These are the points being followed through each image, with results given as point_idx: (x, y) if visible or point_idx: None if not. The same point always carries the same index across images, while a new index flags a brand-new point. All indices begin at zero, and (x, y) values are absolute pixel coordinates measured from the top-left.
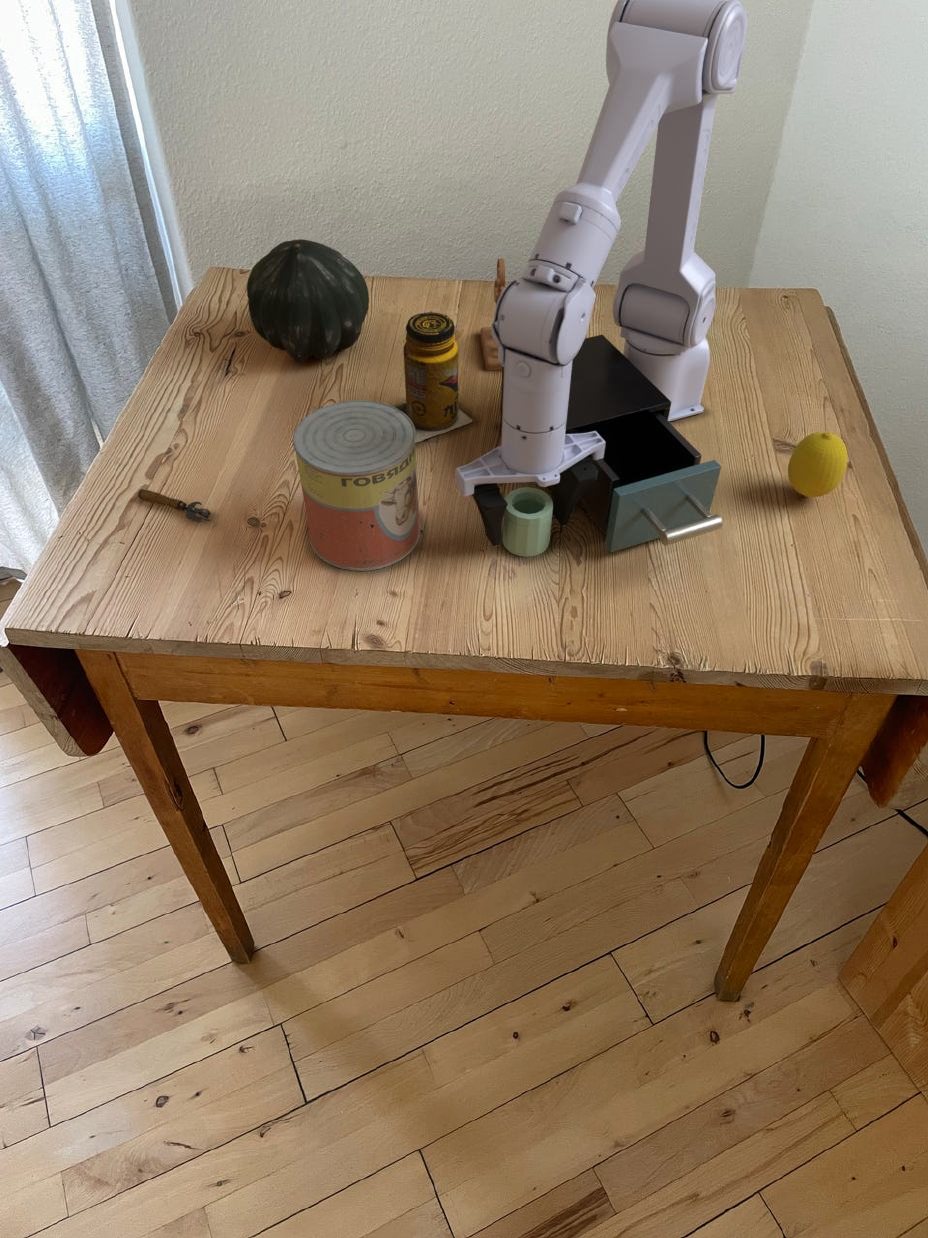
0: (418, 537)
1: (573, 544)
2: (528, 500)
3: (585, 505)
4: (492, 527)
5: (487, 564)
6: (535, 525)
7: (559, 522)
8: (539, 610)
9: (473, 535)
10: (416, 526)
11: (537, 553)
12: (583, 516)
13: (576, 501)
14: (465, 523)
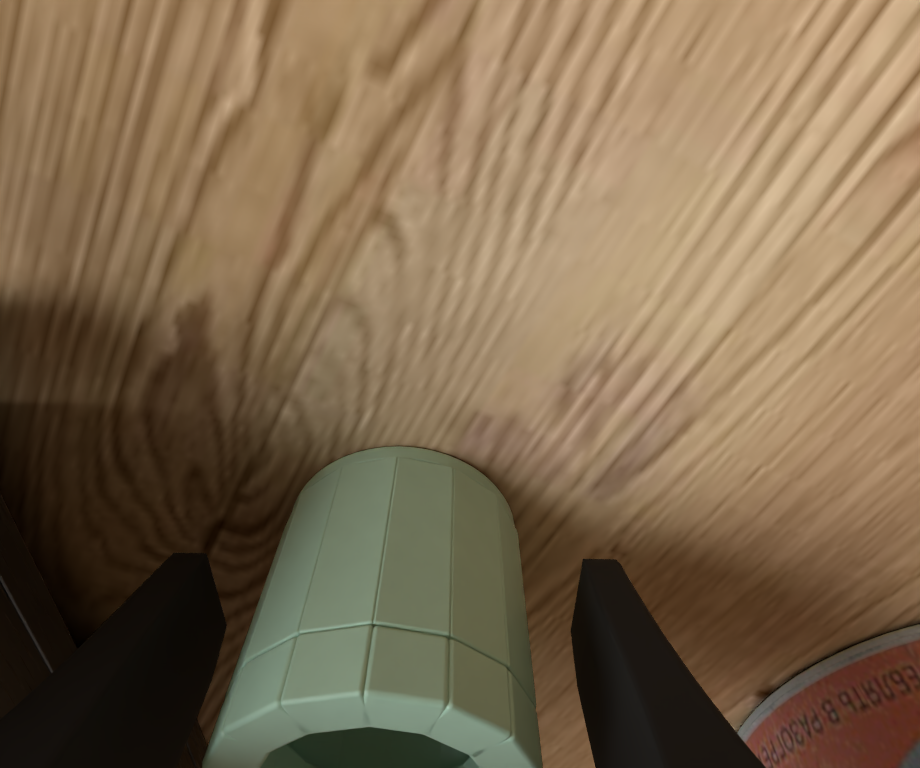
0: (811, 680)
1: (181, 440)
2: (335, 756)
3: (32, 622)
4: (717, 712)
5: (650, 479)
6: (397, 629)
7: (209, 578)
8: (609, 39)
9: None
10: (861, 748)
11: (392, 452)
12: (80, 562)
13: (20, 720)
14: None
